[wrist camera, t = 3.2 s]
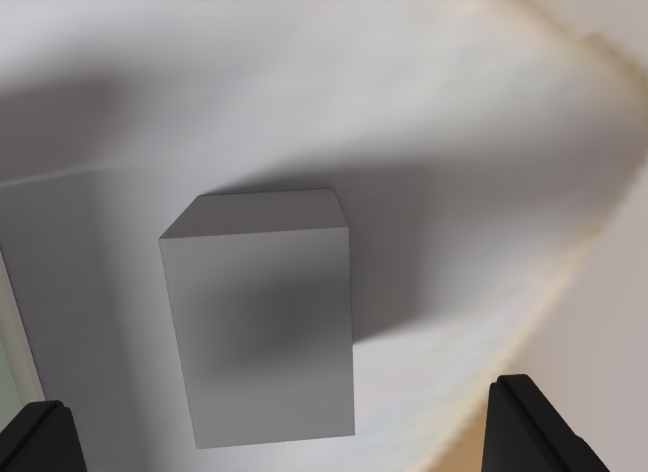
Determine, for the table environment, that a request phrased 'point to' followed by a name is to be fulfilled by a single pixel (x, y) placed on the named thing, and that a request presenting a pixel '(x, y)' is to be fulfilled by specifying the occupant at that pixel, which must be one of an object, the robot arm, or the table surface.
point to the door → (7, 393)
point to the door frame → (17, 344)
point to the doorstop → (263, 316)
